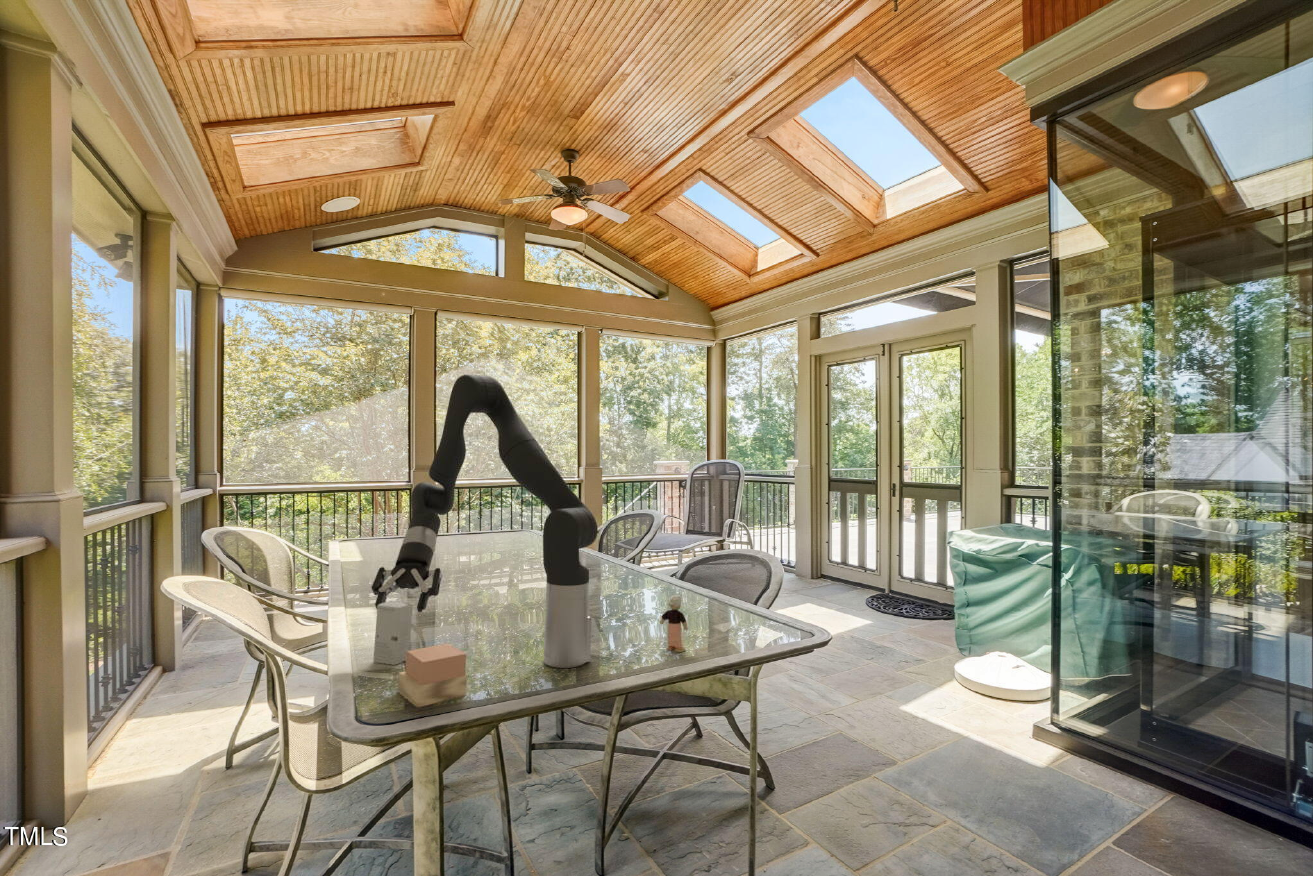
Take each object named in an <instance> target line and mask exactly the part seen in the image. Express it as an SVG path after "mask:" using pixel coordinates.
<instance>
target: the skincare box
mask: <svg viewBox="0 0 1313 876" xmlns="http://www.w3.org/2000/svg"><path fill="white" fill-rule="evenodd" d="M413 605H414V604H413V603H408V602H403V601H395V600H389V601H386V602H385V603H382V604H379V605H378V606H377V609H376V623H375V633H374V634H375V636H374V646H373V647H374V648H373V662H375V663H380V664H384V663H385V664H386V665H390V664H391V665H390V666H397V665H399V664H398V663H400V664H402V663H404V662H403V661H405V662H406V651H409V650H410V646H411V645H410V643H411V634H412V633H411V631H412V617H413V609H414V608H413ZM401 662H402V663H401ZM396 664H397V665H396Z"/></svg>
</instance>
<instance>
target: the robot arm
mask: <svg viewBox="0 0 1313 876" xmlns="http://www.w3.org/2000/svg"><path fill="white" fill-rule="evenodd" d="M446 409H447V410H446V414H445V418H444V423H443V430H442V435H441V438H440V442H439V444H438V447H437V450H436V453H435V455H434V457H433V460H432V462H431V465H430V467H429V470H428V475H429V478H430V479H431V480H432V481H434V482H435V483H437V484H438V485H436V484H433V483H431V482H426V481H422V482H419V483H418V484H416V485H415V486H414V488H413V489H412V492H411V497H410V499H411V500H410V503H411V507H410V508H411V519H410V522H409V525H408V528H407V532H406V534H405V535H404V538H403V540H402V543H401V547H400V549H399V552H398V555H397V558H396V561H395V564H394V565H395V566H394V567H393V568H392V569H385V567H384V566H382V567H379V569H378V570H377V573H376V575H375V578H374V580H373V582H372V585H371V590H372V593H373V595H374V596H377V597H376V600H375V602H374V605H375V608H376V610H377V606H378V605H379V604H382V603H385V602H387V597H388V596H389V595H390V594H392V593H395V592H396V591H397V590H398V589H400V590H405V589H410V590H415V588H418V589H419V591H420V594H419V598H418V602H417V606H416V608H417V612H418V613H423V610H426V609H427V605H428V601H429V598H431V597H438V595H439V593H440V587H441V582H442V577H443V576H442V571H441V568H440V567H436V568H435V569H434V570H430V568H431V564H432V561H433V556H434V554H435V551H436V545H437V538H438V535H439V531H440V527H441V523H442V521H441V518H440V516H445V515H447V514H448V513H449V512H450V511H452V509H453V507H454V503H455V490H456V483H457V479H458V477H459V474H460V471H461V469H462V467H463V465H464V462H465V459H466V455H467V447H466V440H465V435H464V429H465V427H466V426H465V425H466V422H467V420H468V418H469V417H470V415H471V414H473V413H474V414H485V415H486V416H487V417H488V418H489V420H491V422H492V424H493V425H494V427H495V428H496V430H497V434H498V435H497V436H498V438H497V441H498V443H497V448H498V454H499V459H500V460H501V462H502V463H503V465H504V466H505V468H506V469H507V470H508V472H509V474H510V476H511V477H512V478H513V479H514V480H515V481H516V482H517V483H518V484H519V486H521V487H522V488H524V489H525V490H526V491H527V492H529V493H530V494H531V495H533V496H535V498H537V499H539V500H540V501H541V502H542V503H543V504H544V505H545V506H546V507H547V509H549V511H550V513H548V515H547V517H546V519H545V521H544V525H543V529H542V530H543V531H542V557H543V558H542V559H543V560H542V561H543V563H542V564H543V569H544V571H545V575H546V583H545V584H546V585H545V586H546V589H545V591H546V592H545V617H544V618H545V620H544V642H543V643H544V644H543V646H544V647H543V648H544V649H543V663H544V664H545V665H546V666H549V667H552V668H561V669H565V668H566V669H567V668H568V669H569V668H575V667H580V666H582V665H585V664H586V663H589V662H591V646H592V617H591V616H589V594H590V593H589V590H590V589H589V588H590V571H589V568H588V567H587V566H584V565H582V564H581V562H580V550H581V549H585V548H587V547H590V546H591V545H593V543H594V542H595V541H596V539H597V537H598V523H597V519H595V516H594V515H593V513H592V512H591V511H590V509H589V508H588V507H587V506H586V505H585V504H584V502H583V501H582V500H581V499H580V498H579V496H578V495H577V494H575V492H574V491H573V490H572V489H571V488H570V486H569V485H568V484H567V483H566V481H565V480H564V478H563V477H562V475H561V474H560V472H559V471H558V470H557V469H556V467H555V466H554V465H553V462H552V461H551V460H550V459H549V457H548V455H547V454H546V453H545V450H544V449H543V448H542V446H541V445H540V443H539V442H538V441H537V439H536V438H535V437H534V436H533V434H532V433H531V432H530V430H529V428H528V427H527V426H526V424H525V422H524V421H523V420H522V418H521V416H520V415H519V414H518V412H517V411H516V409H515V407H514V405H513V403H512V402H511V400H510V398H509V396H508V394H507V392H506V390H505V388H504V387H503V386H502V384H501V383H500V382H499V381H498V379H496V378H495V377H492V376H490V375H481V374H463V375H460V376H459V377H458V378H457V379H456V380H455V382H454V383H453V386H452V388H451V392H450V396H449V401H448V405H447V408H446ZM390 576H391V577H390ZM389 577H390V578H389ZM388 578H389V579H388ZM429 578H431V580H432V581H431V587H427V585H426V583H425V581H426V580H427V579H429ZM385 581H386V583H385Z"/></svg>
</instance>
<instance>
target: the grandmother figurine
mask: <svg viewBox="0 0 1313 876" xmlns="http://www.w3.org/2000/svg"><path fill="white" fill-rule="evenodd" d="M681 603H682V597H681V595H678V594H673V595H672V596H671V597H669V598H668V600H667V603H666V604H667V605H668V606H669V607H670V609H669V610H666V611H665V612H664V613H663V614H662V615H661V618H660V622H659V623H660V625H665V621H668V624H667V645H668V646H667V647H666V651H673V650H674V652H676V653H681V652H685V651H686V648H685V647H684V646H683V641H682V640H683V637H682V636H683V635H682V629H683V631H688V629H689V627H688V623H687V619H686V616H685V614H684V613H683V612H682V611H679V610H680V608H681V605H682V604H681ZM682 627H683V628H682Z"/></svg>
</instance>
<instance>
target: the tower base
mask: <svg viewBox="0 0 1313 876" xmlns="http://www.w3.org/2000/svg"><path fill="white" fill-rule="evenodd" d="M467 676H468V675H466V674H465V676H462V677H457V678H453V679H448V680H444V681H439V682H435V683H430V684H426V685H421V684H420V683H418V682H417V681H416V680H414V679H413V678H412V677H410V676H409V675H408V674H406V673H405V670H404V671H400V672H398V684H397V685H398V686H397V687H398V688H397V693H398V692H399V693H400V694H399V693H398V694H399V695H401V694H402V695H403V696H404V697H403V696H402V695H401V696H402V697H403V698H404V699H406V700H407V699H408V700H407V701H408V702H410V703H411V704H412V705H413V706H414V707H416V708H421V707H424V706H428V705H433V704H436V703H441V702H445V701H449V700H452V699H456V698H461V697H465V696H466V695H467V679H468V678H467Z"/></svg>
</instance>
